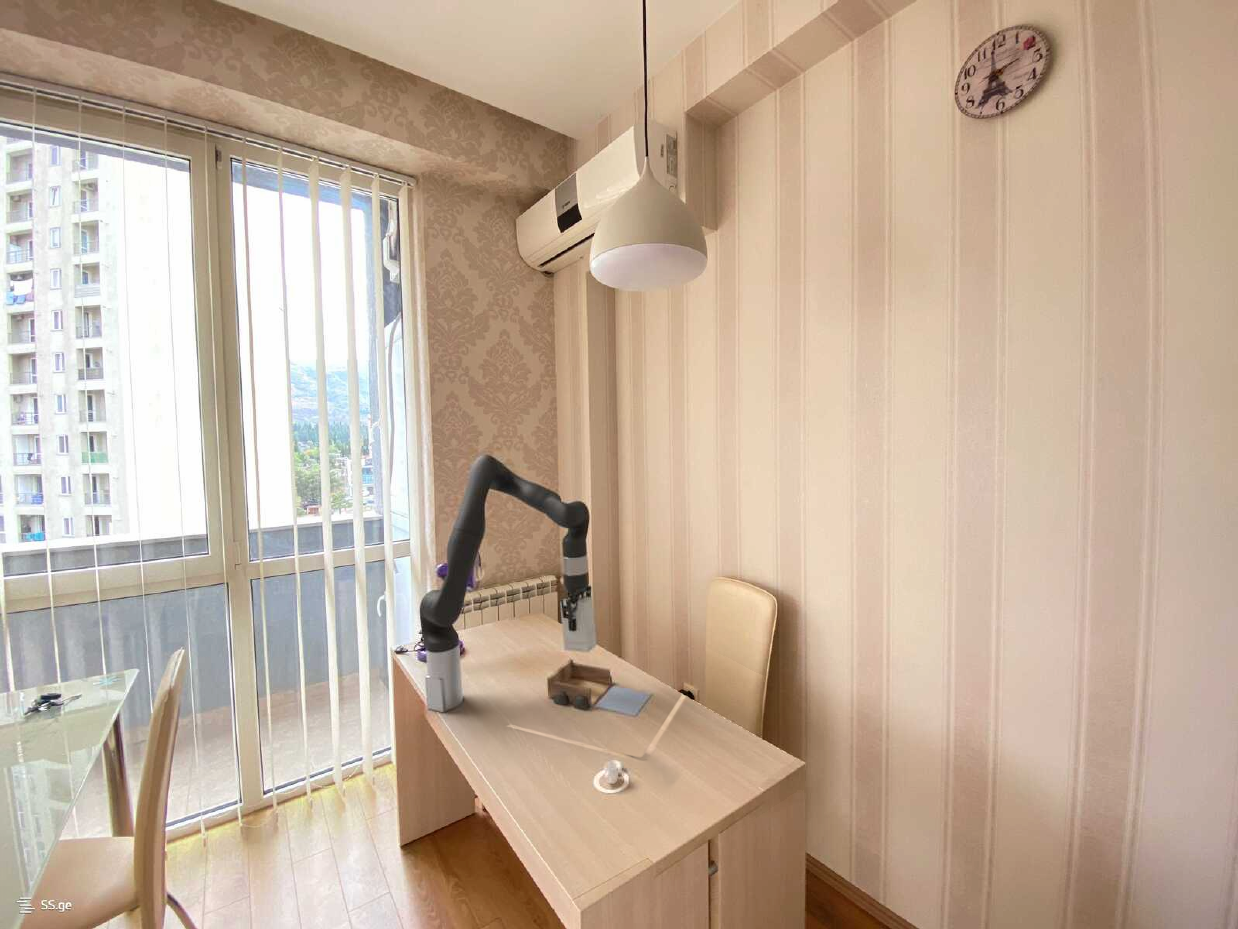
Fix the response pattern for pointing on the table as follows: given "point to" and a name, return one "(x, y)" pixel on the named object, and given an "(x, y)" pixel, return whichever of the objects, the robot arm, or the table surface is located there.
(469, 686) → the table surface
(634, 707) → the tailgate
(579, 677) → the wooden toy cart
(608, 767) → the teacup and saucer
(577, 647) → the skincare box
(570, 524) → the robot arm
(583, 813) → the table surface
